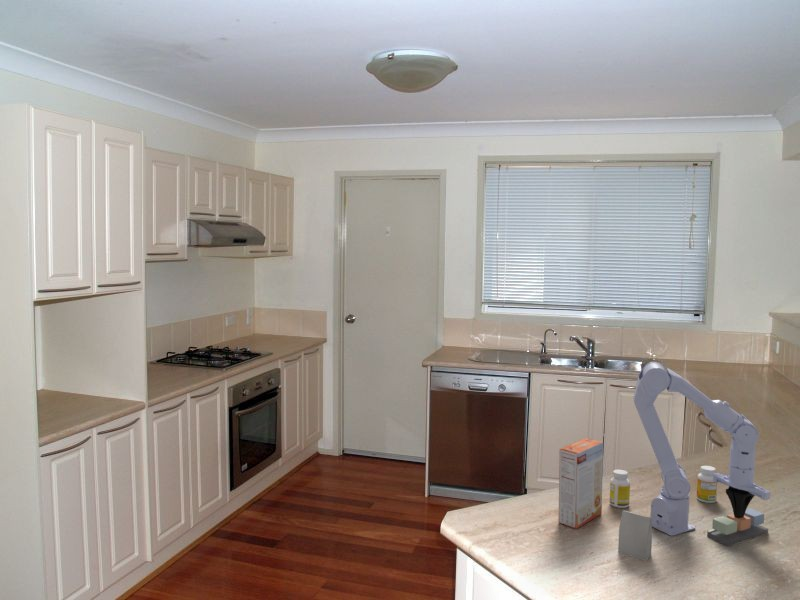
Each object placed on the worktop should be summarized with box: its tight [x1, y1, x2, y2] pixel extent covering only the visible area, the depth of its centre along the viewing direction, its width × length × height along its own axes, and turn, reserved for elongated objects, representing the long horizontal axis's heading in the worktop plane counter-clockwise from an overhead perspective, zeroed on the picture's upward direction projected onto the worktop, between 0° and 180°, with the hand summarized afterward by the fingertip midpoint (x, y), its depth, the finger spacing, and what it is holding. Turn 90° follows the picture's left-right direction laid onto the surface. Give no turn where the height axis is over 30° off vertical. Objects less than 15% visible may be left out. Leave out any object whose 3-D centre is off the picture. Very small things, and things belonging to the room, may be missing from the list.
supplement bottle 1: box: [609, 469, 631, 509], centre depth 186 cm, size 5×5×10 cm
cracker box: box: [558, 437, 604, 530], centre depth 175 cm, size 14×6×21 cm, turn 135°
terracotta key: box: [726, 513, 751, 531], centre depth 167 cm, size 4×4×3 cm
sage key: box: [711, 515, 737, 535], centre depth 164 cm, size 4×4×3 cm
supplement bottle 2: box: [696, 465, 719, 504], centre depth 190 cm, size 5×5×10 cm
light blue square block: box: [744, 507, 765, 526], centre depth 170 cm, size 4×4×3 cm
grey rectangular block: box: [617, 509, 653, 562], centre depth 157 cm, size 4×7×10 cm, turn 51°
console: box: [706, 524, 769, 547], centre depth 167 cm, size 16×6×2 cm, turn 118°
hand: (738, 516), depth 167 cm, fingers closed, pressing on terracotta key
